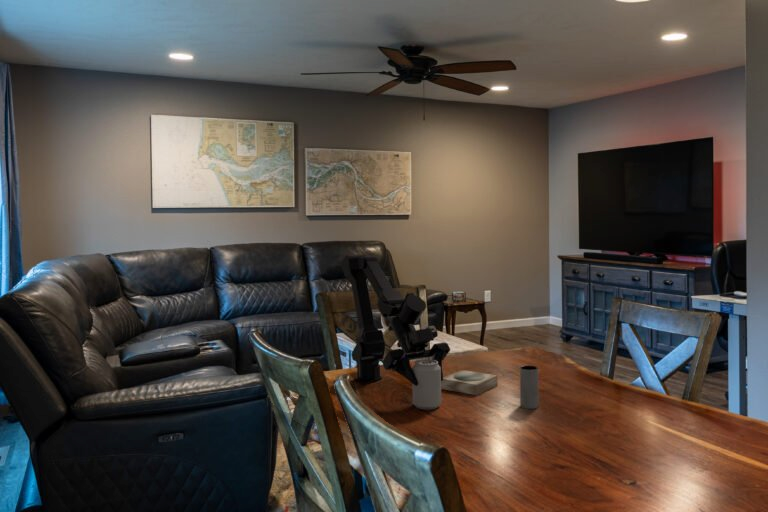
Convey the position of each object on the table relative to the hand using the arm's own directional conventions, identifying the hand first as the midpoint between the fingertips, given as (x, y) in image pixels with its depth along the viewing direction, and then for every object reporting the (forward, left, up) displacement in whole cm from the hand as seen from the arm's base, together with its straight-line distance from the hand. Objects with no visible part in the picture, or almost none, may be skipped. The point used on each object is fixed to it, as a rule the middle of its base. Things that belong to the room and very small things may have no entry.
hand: (429, 382), depth 160 cm
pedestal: (-1, +23, -7) cm, 24 cm away
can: (-1, +1, -7) cm, 7 cm away
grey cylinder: (+21, +16, -7) cm, 27 cm away
